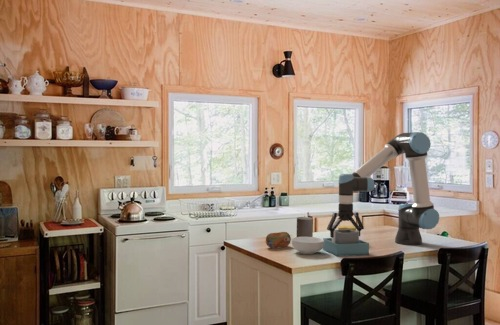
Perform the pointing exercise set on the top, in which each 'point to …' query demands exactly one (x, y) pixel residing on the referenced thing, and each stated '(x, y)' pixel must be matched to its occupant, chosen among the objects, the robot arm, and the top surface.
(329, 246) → the teal crate
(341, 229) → the cheese
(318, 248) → the cereal bowl
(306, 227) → the pillar candle
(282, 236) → the tin
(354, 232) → the block
